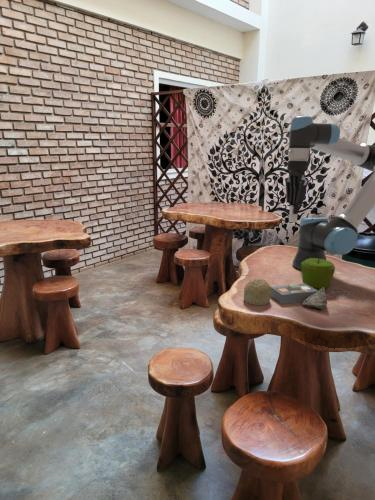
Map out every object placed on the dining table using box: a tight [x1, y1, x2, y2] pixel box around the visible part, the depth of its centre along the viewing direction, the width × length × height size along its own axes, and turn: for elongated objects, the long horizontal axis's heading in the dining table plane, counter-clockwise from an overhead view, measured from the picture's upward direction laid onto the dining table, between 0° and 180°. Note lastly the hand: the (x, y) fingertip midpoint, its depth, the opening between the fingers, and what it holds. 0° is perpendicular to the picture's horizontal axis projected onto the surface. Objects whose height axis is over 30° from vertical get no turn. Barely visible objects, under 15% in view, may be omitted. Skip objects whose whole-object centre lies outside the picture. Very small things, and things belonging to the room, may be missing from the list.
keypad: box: [271, 283, 319, 305], centre depth 130 cm, size 14×8×4 cm, turn 106°
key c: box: [277, 288, 290, 293], centre depth 128 cm, size 3×3×2 cm
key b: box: [287, 283, 301, 291], centre depth 129 cm, size 3×3×2 cm
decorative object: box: [243, 278, 272, 306], centre depth 126 cm, size 9×10×10 cm
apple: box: [300, 258, 336, 290], centre depth 140 cm, size 12×12×11 cm
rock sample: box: [301, 287, 328, 310], centre depth 123 cm, size 10×8×9 cm
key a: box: [301, 286, 311, 290], centre depth 131 cm, size 3×3×2 cm
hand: (292, 221), depth 142 cm, fingers closed
